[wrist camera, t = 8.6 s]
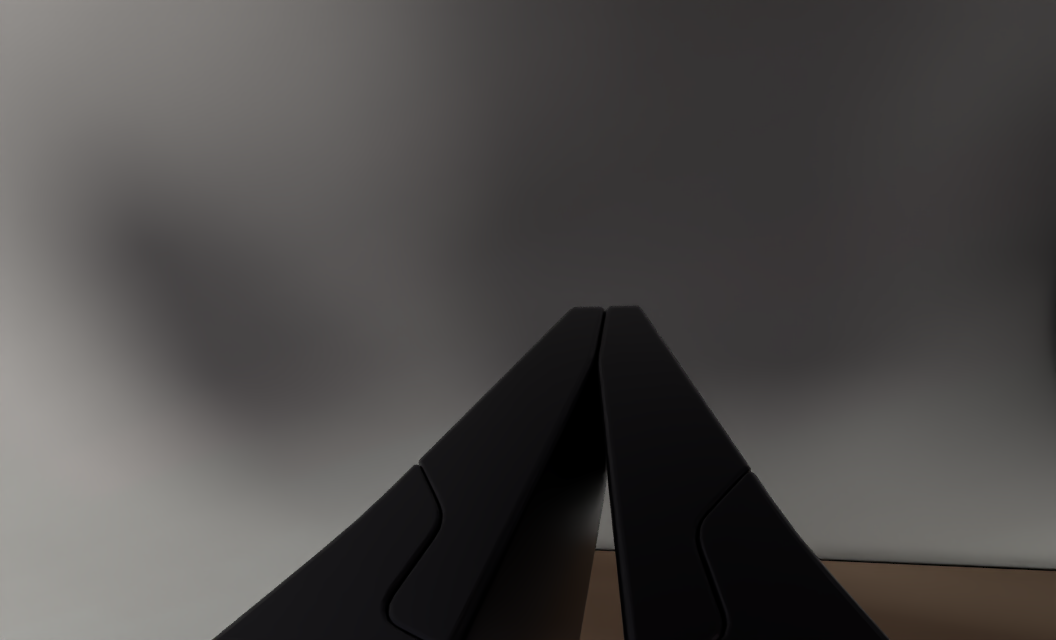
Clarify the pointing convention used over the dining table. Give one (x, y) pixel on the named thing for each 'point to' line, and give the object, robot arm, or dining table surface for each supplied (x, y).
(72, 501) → the dining table surface
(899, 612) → the wooden tray
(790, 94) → the dining table surface
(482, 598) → the robot arm
